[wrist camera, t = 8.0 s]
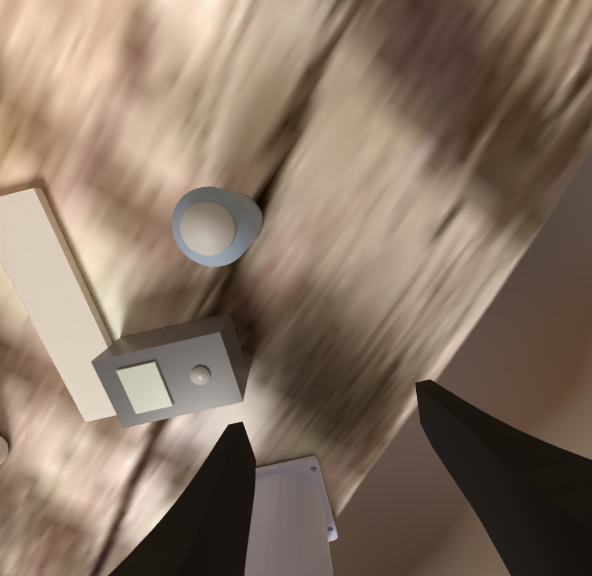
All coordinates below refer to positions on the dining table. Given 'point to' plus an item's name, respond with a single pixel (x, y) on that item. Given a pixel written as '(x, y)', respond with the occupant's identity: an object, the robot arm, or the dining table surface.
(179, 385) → the box
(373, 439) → the dining table surface
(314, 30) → the dining table surface
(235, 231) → the peg
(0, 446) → the light grey rounded block
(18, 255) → the batten
